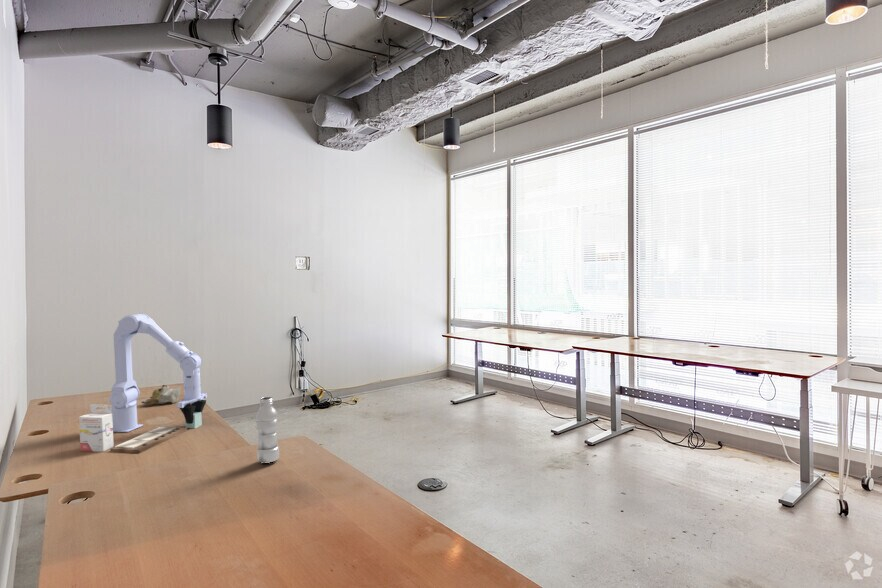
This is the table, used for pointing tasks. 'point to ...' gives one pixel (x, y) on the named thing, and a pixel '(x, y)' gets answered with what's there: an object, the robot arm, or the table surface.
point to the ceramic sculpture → (164, 395)
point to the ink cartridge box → (96, 429)
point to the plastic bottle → (267, 431)
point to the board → (148, 439)
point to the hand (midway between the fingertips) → (193, 421)
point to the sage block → (195, 420)
